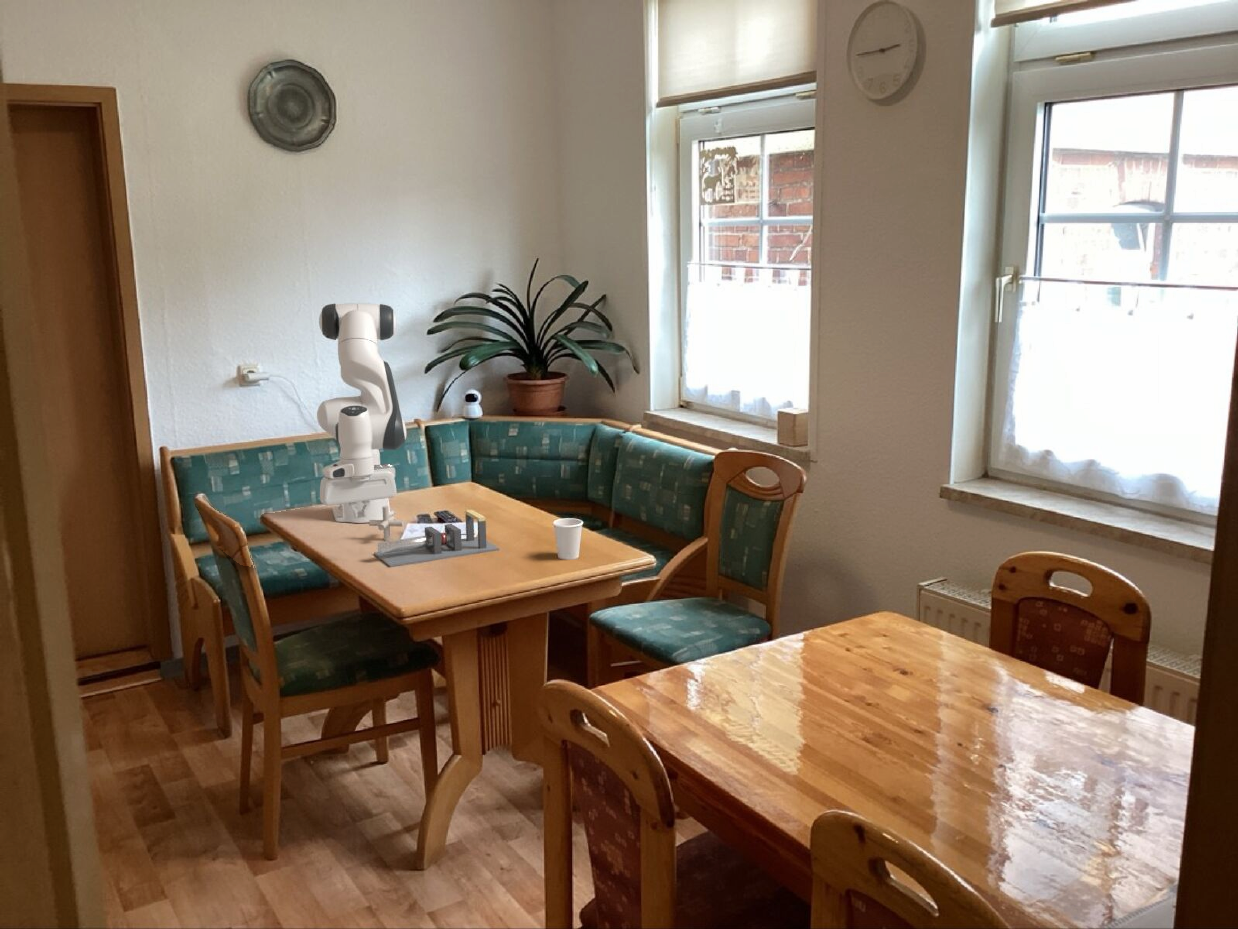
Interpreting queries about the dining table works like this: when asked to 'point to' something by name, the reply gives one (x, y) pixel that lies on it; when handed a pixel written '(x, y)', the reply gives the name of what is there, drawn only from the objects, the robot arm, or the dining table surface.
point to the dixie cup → (568, 537)
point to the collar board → (449, 550)
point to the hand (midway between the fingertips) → (360, 517)
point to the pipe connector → (386, 522)
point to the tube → (410, 543)
